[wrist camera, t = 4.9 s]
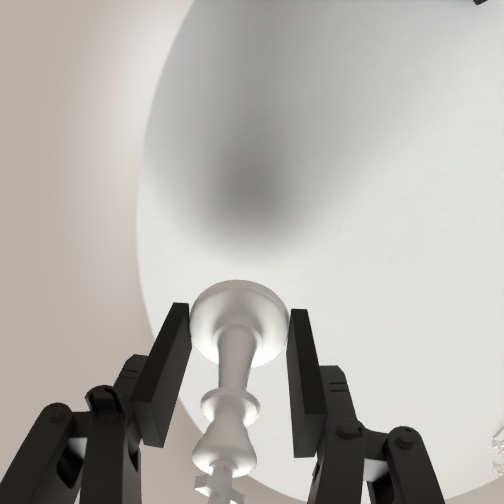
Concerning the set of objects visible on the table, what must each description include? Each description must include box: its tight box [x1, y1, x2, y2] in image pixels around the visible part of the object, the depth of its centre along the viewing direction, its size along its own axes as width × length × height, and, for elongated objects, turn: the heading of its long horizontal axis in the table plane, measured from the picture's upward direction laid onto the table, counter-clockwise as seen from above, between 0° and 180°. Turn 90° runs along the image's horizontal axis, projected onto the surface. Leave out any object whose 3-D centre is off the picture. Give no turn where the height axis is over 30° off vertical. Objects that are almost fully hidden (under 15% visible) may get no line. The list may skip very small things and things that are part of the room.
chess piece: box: [189, 280, 290, 504], centre depth 11 cm, size 5×5×10 cm
